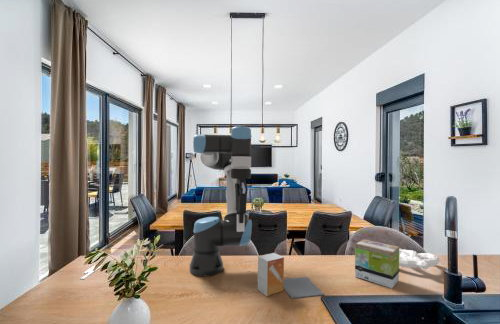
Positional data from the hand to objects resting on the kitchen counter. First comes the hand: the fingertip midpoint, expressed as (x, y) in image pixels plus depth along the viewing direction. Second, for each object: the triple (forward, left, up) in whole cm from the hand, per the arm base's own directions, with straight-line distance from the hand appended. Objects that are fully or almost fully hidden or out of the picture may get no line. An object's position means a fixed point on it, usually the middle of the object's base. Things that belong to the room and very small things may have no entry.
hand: (240, 231), depth 97 cm
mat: (0, +24, -23) cm, 34 cm away
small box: (0, +12, -24) cm, 27 cm away
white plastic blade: (-33, -62, -24) cm, 75 cm away
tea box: (0, +59, -24) cm, 64 cm away
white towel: (-11, +83, -24) cm, 87 cm away
